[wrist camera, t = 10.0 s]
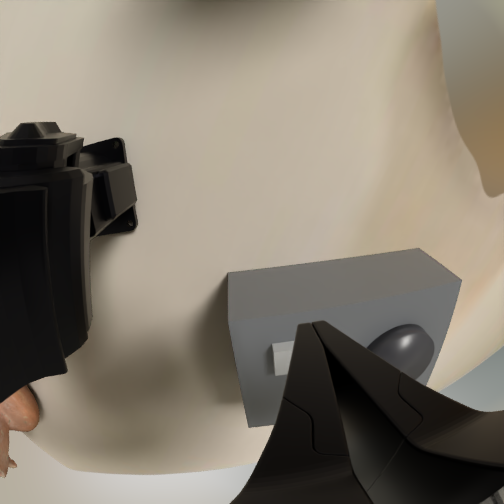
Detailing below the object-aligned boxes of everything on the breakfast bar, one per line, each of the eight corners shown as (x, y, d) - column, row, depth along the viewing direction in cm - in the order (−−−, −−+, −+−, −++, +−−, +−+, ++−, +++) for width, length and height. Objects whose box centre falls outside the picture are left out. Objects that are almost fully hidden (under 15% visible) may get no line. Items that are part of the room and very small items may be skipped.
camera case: (244, 376, 25) (249, 439, 19) (227, 272, 21) (228, 334, 14) (399, 346, 26) (431, 394, 19) (419, 248, 21) (472, 288, 15)
